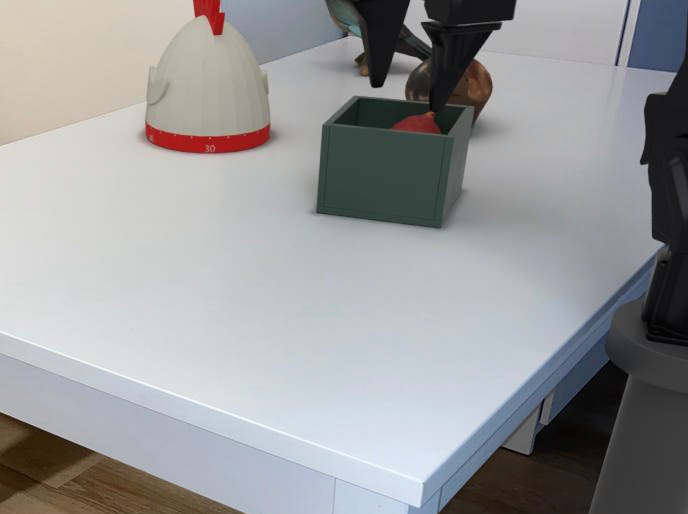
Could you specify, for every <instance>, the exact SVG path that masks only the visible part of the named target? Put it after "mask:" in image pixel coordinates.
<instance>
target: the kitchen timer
mask: <svg viewBox="0 0 688 514" xmlns="http://www.w3.org/2000/svg"><path fill="white" fill-rule="evenodd" d="M221 1H222V0H192V4H193V5H192V6H193V13H194V18H192V19H191V20H189V21H188V22H187V23H186V24H184V25H183V26H182V27H180V29H179V30H178V31H177V32H176V33H175V35H174V36H173V37H172V38H171V40H170V41H169V43H168V44H167V46H166V48H165V49H164V51H163V52H162V54H161V57H160V59H159V61H158V63H157V66H153V65H150V66H149V71H148V79H147V85H146V96H145V97H146V107H145V118H144V121H145V124H144V125H145V128H144V129H145V136H146V140H147V141H149V142H150V143H152V144H153V145H155V146H157V147H158V146H159V147H162V148H165V149H167V150H174V151H179V152H185V153H197V154H198V153H199V154H217V153H218V154H220V153H221V154H222V153H231V152H240V151H245V150H249V149H254V148H257V147H259V146H262V145H264V144H265V143H267V142H268V141H269V140H270V136H271V109H270V102H269V97H268V95H269V93H270V92H269V91H270V90H269V80H268V70H267V69H263V70H261V67H260V64H259V62H258V60H257V57H256V56H255V53H254V52H253V50H252V48H251V47H250V45H249V43H248V42H247V41H246V39H245V38H244V36H243V35H242V34H241V32H239V31H238V30H237V29H236V28H235V26H234V25H232V24H231V23H230V22H228V21H227V20H225V18H226V12H223V11H222V12H221V3H222V2H221Z"/></svg>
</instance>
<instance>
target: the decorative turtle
mask: <svg viewBox="0 0 688 514" xmlns="http://www.w3.org/2000/svg"><path fill="white" fill-rule="evenodd" d="M430 70H431V57H430V58H428V59H426V60H425V61H421V63H420V64H418V65H417V66H416V67H415V68H414V69H413V70H412V71H411V73H410V74H409V76H408V78H407V80H406V83H405V86H404V97H405V100H411V101H422V102H429V86H430ZM493 85H494V84H493V79H492V76H491V74H490V72H489V70H487V68H486V67H485V65H483V64H482V62H480V61H479V60H477V59H476V58H474V59H473V61H472V62H471V64H470V65H469V67H468V69H467V70H466V72H465V73H464V75H463V77H462V78H461V80H460V82H459V83H458V85H457V87H456V88H455V90H454V92H453V93H452V95H451V97H450V98H449V100H448V102H447V103H446V104H455V105H466V106H474V113H473V120H472V126H471V130H472V129H473V128H474V126H475V124H476V122H477V120H478V118H479V116H480V114H481V113H482V111H483V110H484V108H485V106H486V104H487V103H488V102H489V100H490V98H491V96H492V94H493V89H494V86H493Z"/></svg>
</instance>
